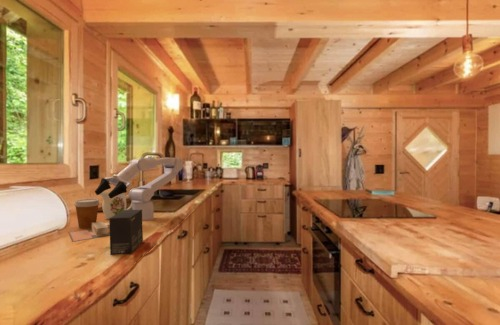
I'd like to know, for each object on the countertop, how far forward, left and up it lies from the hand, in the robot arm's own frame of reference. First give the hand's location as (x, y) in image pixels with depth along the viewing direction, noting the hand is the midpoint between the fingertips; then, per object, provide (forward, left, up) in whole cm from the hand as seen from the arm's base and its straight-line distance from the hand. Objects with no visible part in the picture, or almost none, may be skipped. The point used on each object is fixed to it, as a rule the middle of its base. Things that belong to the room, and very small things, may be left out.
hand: (102, 195), depth 113 cm
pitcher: (-10, -22, -15) cm, 28 cm away
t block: (-1, +5, -14) cm, 15 cm away
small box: (-2, +30, -15) cm, 34 cm away
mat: (+2, +5, -15) cm, 16 cm away
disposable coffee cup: (+5, -9, -15) cm, 18 cm away
